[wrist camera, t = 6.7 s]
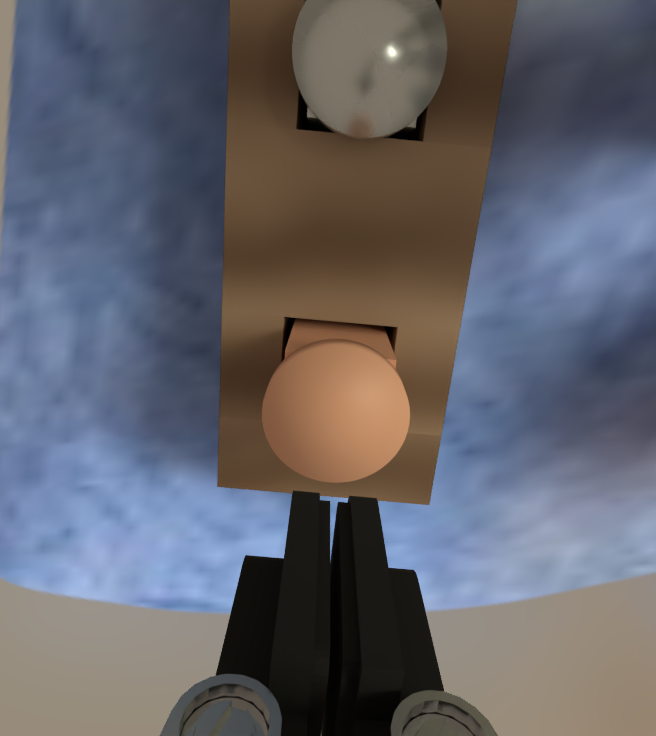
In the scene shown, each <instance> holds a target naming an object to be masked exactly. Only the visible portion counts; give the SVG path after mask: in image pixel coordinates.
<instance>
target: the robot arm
mask: <svg viewBox="0 0 656 736" xmlns="http://www.w3.org/2000/svg"><path fill="white" fill-rule="evenodd" d="M160 736H498V735H497V733H496V732H495V730H494V729H493V727H492V725H491V724H490V722H489V720H488V719H487V718H486V717H485V716H484V715H483V714H481V712H480V711H479V710H478V709H477V708H476V707H474V706H473V705H471V704H470V703H468V702H467V701H465V700H463V699H462V698H460V697H458V696H455V695H452V694H450V693H447V692H444V688H443V684H442V680H441V676H440V672H439V667H438V663H437V659H436V655H435V650H434V646H433V642H432V637H431V633H430V629H429V625H428V620H427V616H426V612H425V608H424V603H423V599H422V595H421V591H420V586H419V582H418V578H417V575H416V572H415V571H414V570H407V569H396V568H388V563H387V556H386V550H385V544H384V538H383V532H382V525H381V519H380V513H379V507H378V501H377V498H370V497H360V496H349V499H348V503H344V502H338V505H337V513H336V521H335V529H334V537H333V545H332V553H331V562H330V501H322V500H320V493H316V492H305V491H294V490H293V493H292V501H291V509H290V516H289V524H288V532H287V540H286V547H285V555H284V559H282V558H270V557H259V556H248V555H246V556H245V558H244V561H243V565H242V569H241V573H240V577H239V582H238V586H237V590H236V594H235V598H234V602H233V606H232V611H231V615H230V619H229V623H228V628H227V631H226V635H225V639H224V644H223V648H222V652H221V656H220V660H219V665H218V668H217V672H216V676H213V677H209V678H208V679H205V680H203V681H201V682H199V683H197V684H195V685H194V686H192V687H191V688H190V689H189V690H188V691H187V692H185V693H184V694H183V695H182V696H181V697H180V699H179V700H178V702H177V703H176V705H175V706H174V708H173V709H172V711H171V713H170V715H169V717H168V719H167V721H166V723H165V725H164V728H163V730H162V732H161V734H160Z"/></svg>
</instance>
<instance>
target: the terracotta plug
mask: <svg viewBox="0 0 656 736" xmlns="http://www.w3.org/2000/svg"><path fill="white" fill-rule="evenodd" d="M396 361H397V360H396V357H395V355H394V352H393V349H392V347H391V344H390V341H389V339H388V336H387V333H386V331H385V328H384V326H378V325H367V324H356V323H345V322H334V321H323V320H312V319H301V318H296V319H295V322H294V325H293V328H292V331H291V334H290V337H289V340H288V343H287V346H286V349H285V359H284V360H283V361H282V362H281V364H280V365H279V366H278V367H277V369H276V370H275V372H274V374H273V375H272V378H271V380H270V382H269V385H268V388H267V390H266V393H265V397H264V400H263V406H262V423H263V429H264V432H265V436H266V438H267V440H268V443H269V445H270V446H271V448H272V450H273V451H274V453H275V454H276V455H277V456H278V457H279V459H280V460H281V461H282V462H283V463H285V464H286V465H287V466H288V467H289V468H291V469H292V470H294V471H295V472H297V473H299V474H301V475H303V476H305V477H308V478H310V479H314V480H317V481H322V482H329V483H341V482H350V481H355V480H358V479H361V478H364V477H367V476H369V475H371V474H373V473H375V472H377V471H378V470H380V469H381V468H383V467H384V466H385V465H386V464H388V463H389V462H390V461H391V460H392V458H393V457H394V456H395V455H396V454H397V452H398V451H399V450H400V448H401V446H402V444H403V442H404V440H405V438H406V435H407V432H408V428H409V422H410V406H409V401H408V397H407V394H406V391H405V389H404V386H403V383H402V380H401V378H400V376H399V374H398V372H397V371H396V369H395V368H396Z"/></svg>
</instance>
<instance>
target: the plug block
mask: <svg viewBox="0 0 656 736" xmlns="http://www.w3.org/2000/svg"><path fill="white" fill-rule="evenodd" d="M305 1H306V0H230V20H229V59H228V97H227V136H226V175H225V213H224V252H223V290H222V329H221V367H220V406H219V445H218V483H217V487H226V488H238V489H250V490H261V491H273V492H285V493H293V490H294V491H305V492H316V493H320V496H331V497H343V498H349V496H360V497H370V498H377V500H378V501H390V502H401V503H413V504H425V505H429V503H430V497H431V492H432V486H433V480H434V474H435V469H436V463H437V457H438V452H439V446H440V440H441V434H442V429H443V423H444V417H445V411H446V406H447V400H448V394H449V389H450V383H451V377H452V371H453V366H454V360H455V354H456V349H457V343H458V337H459V331H460V326H461V320H462V314H463V308H464V303H465V297H466V291H467V286H468V280H469V274H470V268H471V263H472V257H473V251H474V245H475V240H476V234H477V228H478V223H479V217H480V211H481V205H482V200H483V194H484V188H485V183H486V177H487V171H488V165H489V160H490V154H491V148H492V142H493V137H494V131H495V125H496V120H497V114H498V108H499V102H500V97H501V91H502V85H503V80H504V74H505V68H506V62H507V57H508V51H509V45H510V39H511V34H512V28H513V22H514V17H515V11H516V5H517V0H435V1H436V2H437V4H438V7H439V9H440V11H441V14H442V17H443V21H444V24H445V29H446V36H447V56H446V64H445V69H444V73H443V76H442V79H441V82H440V85H439V87H438V89H437V91H436V93H435V95H434V97H433V98H432V100H431V102H430V103H429V104H428V106H427V107H426V108H425V109H424V111H423V112H422V113H421V114H420V115H419V116H418V117H417V120H416V128H415V129H413V130H412V131H411V132H410V133H409V134H408V140H402V139H391V138H381V139H376V140H356V139H350V138H347V137H344V136H341V135H339V134H337V133H329V132H319V131H309V130H305V118H306V103H305V101H304V99H303V97H302V95H301V92H300V90H299V87H298V84H297V81H296V77H295V73H294V69H293V60H292V43H293V34H294V30H295V26H296V22H297V19H298V16H299V14H300V11H301V9H302V7H303V5H304V3H305ZM292 318H303V319H314V320H325V321H336V322H347V323H358V324H369V325H380V326H384V328H385V331H386V333H387V336H388V339H389V341H390V344H391V347H392V349H393V352H394V355H395V357H396V360H397V361H396V368H395V369H396V371H397V372H398V374H399V376H400V378H401V380H402V383H403V386H404V389H405V391H406V394H407V397H408V401H409V406H410V422H409V428H408V432H407V435H406V438H405V440H404V442H403V444H402V446H401V448H400V450H399V451H398V452H397V454H396V455H395V456H394V457H393V458H392V460H391V461H390V462H389V463H388V464H386V465H385V466H384V467H383V468H381V469H380V470H378V471H377V472H375V473H373V474H371V475H369V476H367V477H364V478H361V479H358V480H355V481H350V482H341V483H329V482H322V481H317V480H314V479H310V478H308V477H305V476H303V475H301V474H299V473H297V472H295V471H294V470H292V469H291V468H289V467H288V466H287V465H286V464H285V463H283V462H282V461H281V460H280V459H279V457H278V456H277V455H276V454H275V453H274V451H273V450H272V448H271V446H270V445H269V443H268V440H267V438H266V436H265V432H264V429H263V423H262V406H263V400H264V397H265V393H266V390H267V388H268V385H269V382H270V380H271V378H272V375H273V374H274V372H275V370H276V369H277V367H278V366H279V365H280V364H281V362H282V361H283V360H284V359H285V349H286V346H287V343H288V340H289V337H290V334H291V320H292Z"/></svg>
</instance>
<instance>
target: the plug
mask: <svg viewBox="0 0 656 736" xmlns="http://www.w3.org/2000/svg"><path fill="white" fill-rule="evenodd" d="M446 56H447V36H446V29H445V24H444V21H443V17H442V14H441V11H440V9H439V7H438V4H437V2H436V1H435V0H306V1H305V3H304V5H303V7H302V9H301V11H300V14H299V16H298V19H297V22H296V26H295V30H294V34H293V43H292V60H293V69H294V73H295V77H296V81H297V84H298V87H299V90H300V92H301V95H302V97H303V99H304V101H305V103H306V105H307V106H308V110H307V119H308V121H309V124H310V127H311V130H312V131H319V132H329V133H337V134H339V135H341V136H344V137H347V138H350V139H356V140H376V139H381V138H391V139H403V138H404V137H406V136H407V135H408V134H409V133H410V132H411V131H412V130H413V129H415V128H416V120H417V117H418V116H419V115H420V114H421V113H422V112H423V111H424V109H425V108H426V107H427V106H428V104H429V103H430V102H431V100H432V98H433V97H434V95H435V93H436V91H437V89H438V87H439V85H440V82H441V79H442V76H443V73H444V69H445V64H446Z"/></svg>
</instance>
